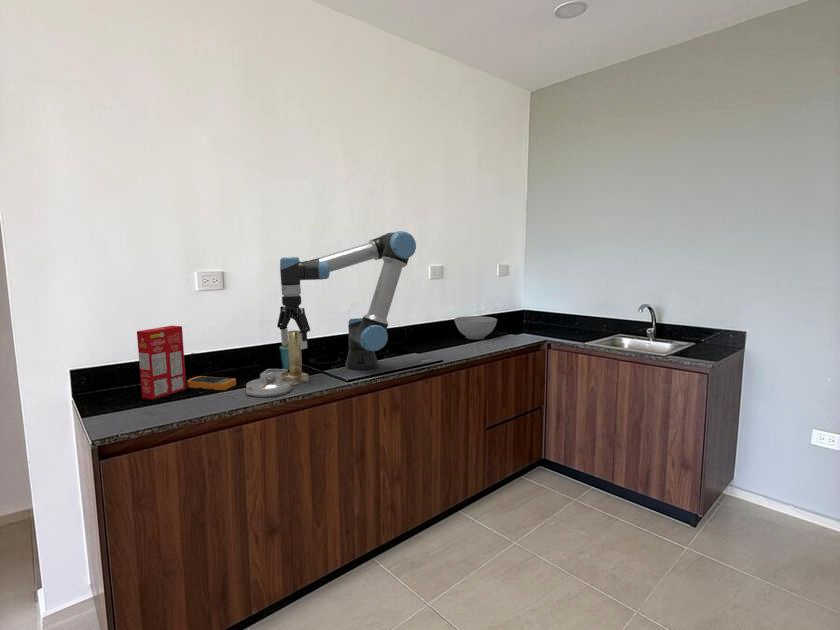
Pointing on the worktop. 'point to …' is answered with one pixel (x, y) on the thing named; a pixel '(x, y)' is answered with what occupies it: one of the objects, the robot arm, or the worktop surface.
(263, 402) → the worktop surface
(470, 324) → the decorative bowl
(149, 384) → the food packaging
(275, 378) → the grey flat rounded piece
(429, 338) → the worktop surface
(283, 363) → the cup
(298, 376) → the key block
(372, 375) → the worktop surface
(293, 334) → the tan cylinder
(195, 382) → the multimeter
